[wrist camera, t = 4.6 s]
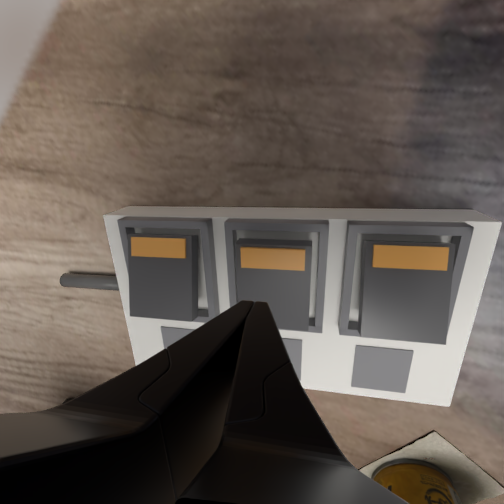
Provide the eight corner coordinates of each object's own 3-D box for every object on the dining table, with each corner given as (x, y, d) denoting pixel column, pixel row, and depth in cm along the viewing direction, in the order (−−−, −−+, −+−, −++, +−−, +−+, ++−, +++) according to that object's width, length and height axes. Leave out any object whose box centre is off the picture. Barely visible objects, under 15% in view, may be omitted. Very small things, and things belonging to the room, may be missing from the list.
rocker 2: (357, 330, 14) (361, 338, 13) (362, 239, 14) (367, 241, 13) (437, 337, 14) (447, 346, 13) (445, 242, 13) (457, 244, 12)
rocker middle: (242, 315, 16) (238, 326, 15) (239, 238, 15) (234, 244, 14) (308, 321, 15) (308, 333, 14) (312, 240, 14) (312, 247, 13)
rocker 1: (139, 311, 17) (127, 317, 16) (137, 233, 16) (125, 234, 15) (198, 316, 16) (190, 322, 15) (198, 235, 16) (190, 236, 14)
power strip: (87, 337, 24) (54, 365, 21) (50, 205, 20) (3, 216, 17) (432, 374, 19) (455, 419, 16) (473, 209, 15) (513, 226, 12)
